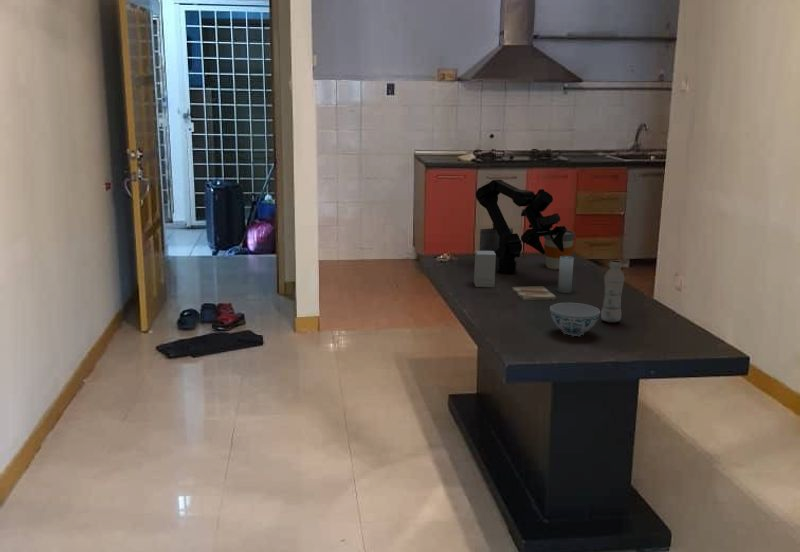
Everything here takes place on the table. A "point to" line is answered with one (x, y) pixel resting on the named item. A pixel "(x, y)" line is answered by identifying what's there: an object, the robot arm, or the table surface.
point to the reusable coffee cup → (554, 253)
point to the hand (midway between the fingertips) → (553, 252)
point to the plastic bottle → (613, 292)
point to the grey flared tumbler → (565, 274)
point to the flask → (490, 240)
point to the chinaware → (574, 317)
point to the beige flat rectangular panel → (534, 293)
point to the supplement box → (484, 268)
